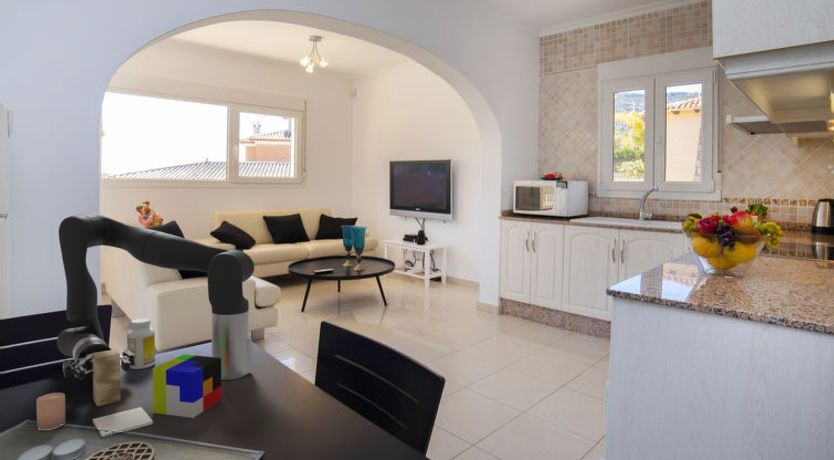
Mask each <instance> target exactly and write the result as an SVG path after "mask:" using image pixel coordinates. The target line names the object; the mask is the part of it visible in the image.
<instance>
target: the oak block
mask: <svg viewBox="0 0 834 460" xmlns="http://www.w3.org/2000/svg"><path fill="white" fill-rule="evenodd" d="M120 354H121V353H120V352H119V351H117V349H111V350H109V351H103V352H97V353H93V373H92V383H93V384H92V389H93V390H92V391H93V392H92V393H93V394H92V395H93V399H92V400H93V401H94V403H95V405H96V406H97V407H100V406H103V405H108V404H112V403H116V402H120V401H121V367H120V363H121V360H120Z"/></svg>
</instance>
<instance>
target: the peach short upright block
mask: <svg viewBox="0 0 834 460" xmlns="http://www.w3.org/2000/svg"><path fill="white" fill-rule="evenodd" d="M66 423H67V422H66V394H65V393H63V392H51V393H47V394H44V395H41V396H39V397H37V398H36V424H37V425H36V426H37V427H38V428H40V429H51V428H54V427H56V426H58V425H60V424H65V425H66ZM37 427H36V428H37Z"/></svg>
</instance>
